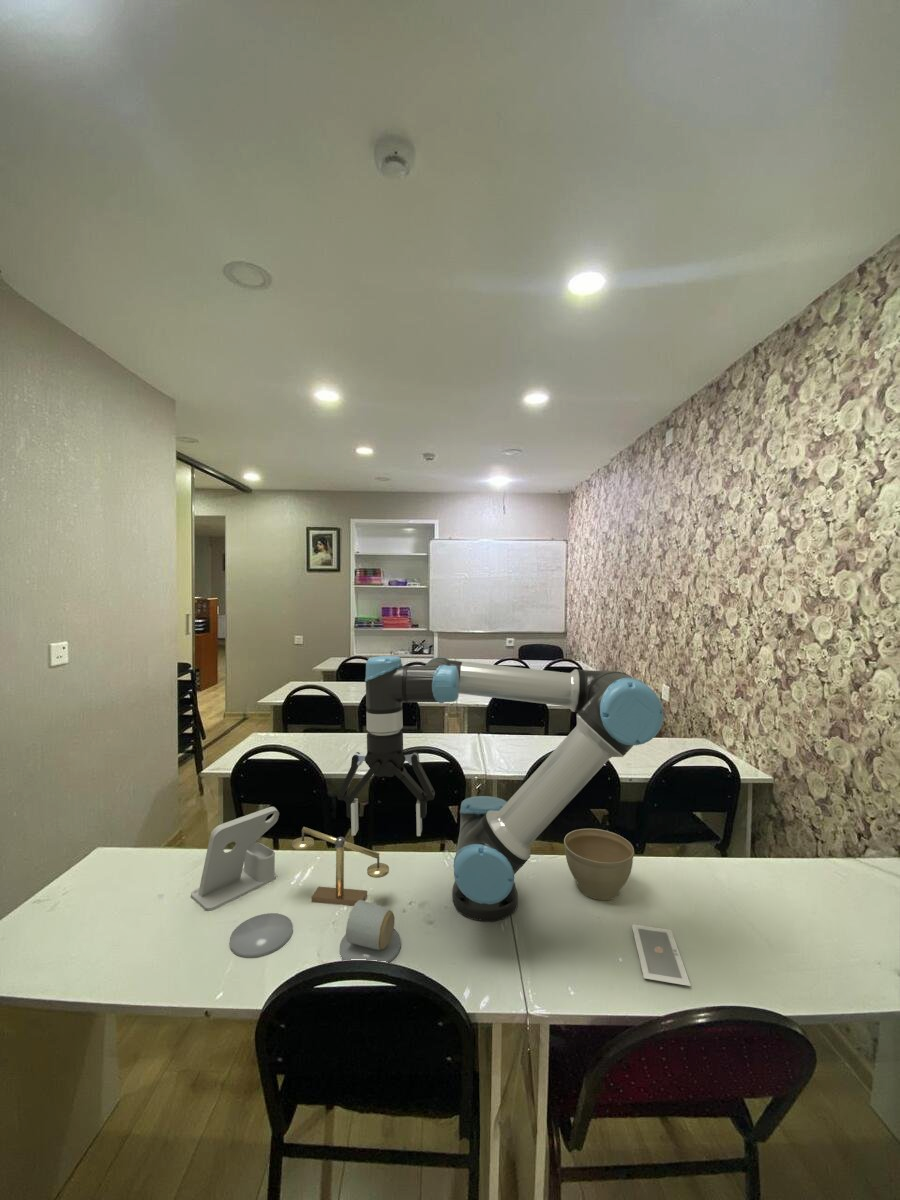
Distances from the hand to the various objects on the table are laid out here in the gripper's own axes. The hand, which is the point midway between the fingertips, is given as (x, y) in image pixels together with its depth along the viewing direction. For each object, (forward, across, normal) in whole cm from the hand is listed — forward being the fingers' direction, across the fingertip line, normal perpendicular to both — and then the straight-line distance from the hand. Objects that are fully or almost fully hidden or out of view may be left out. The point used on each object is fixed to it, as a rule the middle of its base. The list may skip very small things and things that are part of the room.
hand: (387, 832), depth 98 cm
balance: (+20, +14, -11) cm, 27 cm away
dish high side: (+20, +26, +3) cm, 33 cm away
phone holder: (+20, +40, -13) cm, 47 cm away
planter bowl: (+22, -47, -19) cm, 56 cm away
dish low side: (+21, +3, +4) cm, 21 cm away
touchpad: (+23, -54, +2) cm, 59 cm away
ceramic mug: (+20, +3, +3) cm, 21 cm away
